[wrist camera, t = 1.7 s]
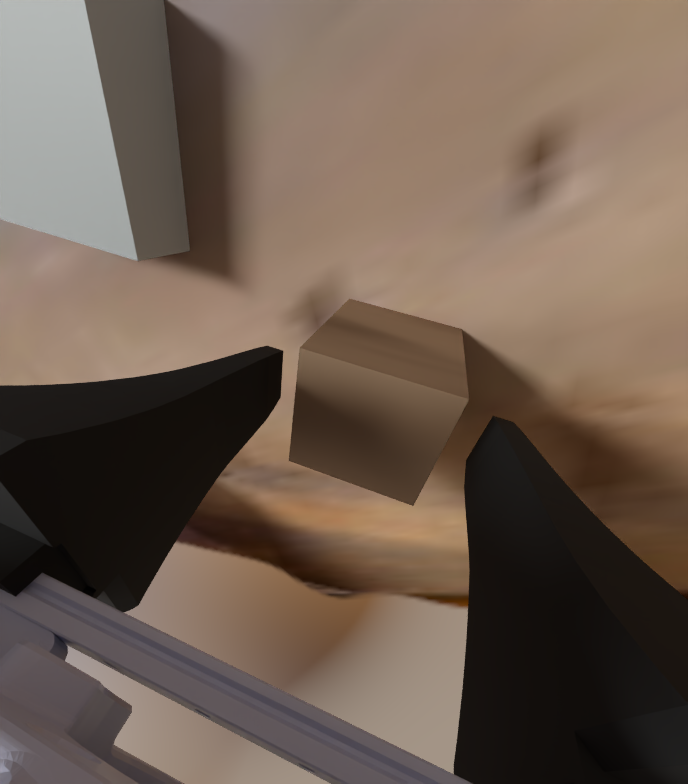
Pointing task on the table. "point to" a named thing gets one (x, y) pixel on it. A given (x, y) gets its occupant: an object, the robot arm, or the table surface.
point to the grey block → (91, 125)
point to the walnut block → (378, 398)
